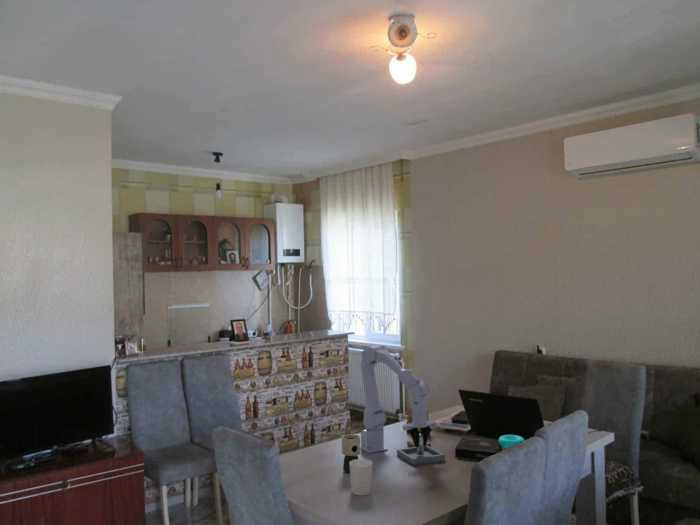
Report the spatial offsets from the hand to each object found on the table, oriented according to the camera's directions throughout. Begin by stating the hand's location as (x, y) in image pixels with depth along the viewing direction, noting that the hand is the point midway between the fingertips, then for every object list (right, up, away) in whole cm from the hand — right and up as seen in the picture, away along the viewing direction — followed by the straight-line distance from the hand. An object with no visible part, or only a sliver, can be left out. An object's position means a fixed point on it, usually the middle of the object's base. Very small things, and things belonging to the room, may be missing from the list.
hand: (420, 446), depth 224 cm
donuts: (+35, -4, -8) cm, 36 cm away
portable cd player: (+25, -5, +5) cm, 26 cm away
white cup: (-25, -5, -34) cm, 42 cm away
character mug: (-28, -5, -13) cm, 31 cm away
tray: (0, -5, 0) cm, 5 cm away
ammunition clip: (+3, -6, +35) cm, 36 cm away
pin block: (+1, -5, +15) cm, 16 cm away
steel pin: (0, -3, 0) cm, 3 cm away
